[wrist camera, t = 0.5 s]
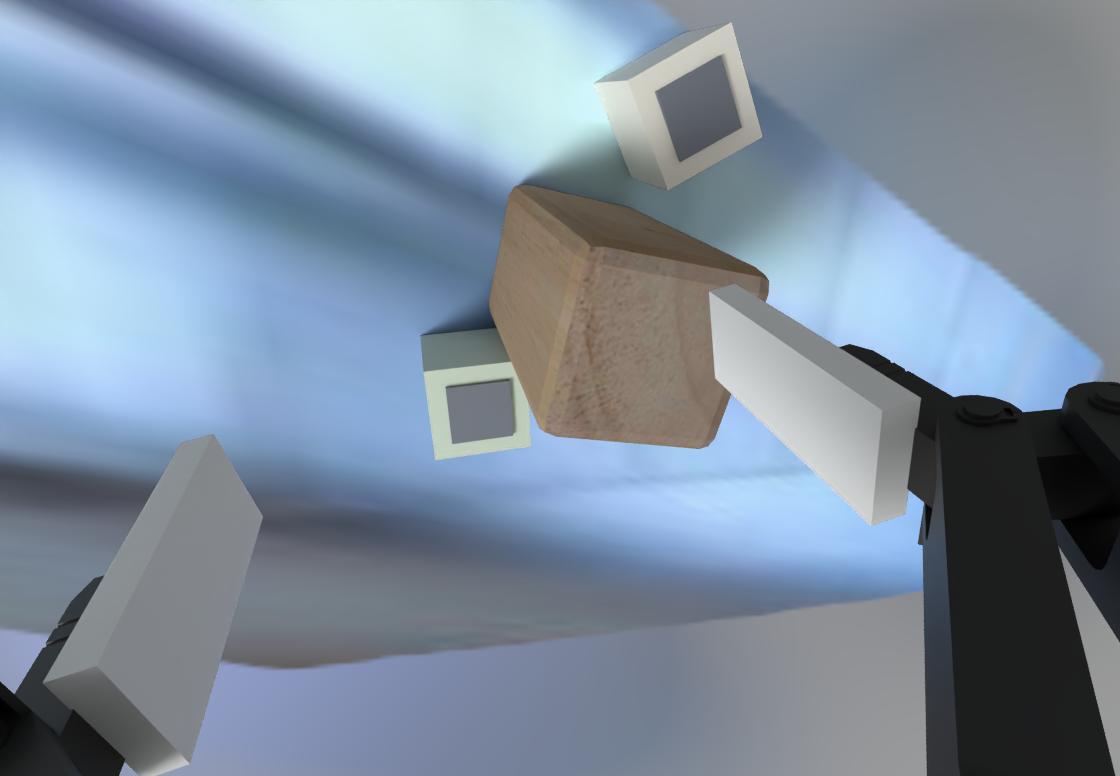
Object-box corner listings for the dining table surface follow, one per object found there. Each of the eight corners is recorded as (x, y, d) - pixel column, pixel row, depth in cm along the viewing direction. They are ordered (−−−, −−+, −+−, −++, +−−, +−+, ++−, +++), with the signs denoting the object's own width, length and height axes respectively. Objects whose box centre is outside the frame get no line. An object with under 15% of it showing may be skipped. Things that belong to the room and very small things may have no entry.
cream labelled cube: (593, 83, 41) (629, 80, 35) (682, 33, 41) (734, 21, 35) (631, 177, 44) (669, 191, 38) (712, 131, 44) (765, 137, 38)
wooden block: (636, 207, 45) (784, 276, 28) (603, 330, 49) (715, 457, 32) (509, 179, 42) (586, 237, 25) (484, 312, 46) (536, 443, 29)
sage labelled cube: (420, 335, 46) (423, 373, 39) (510, 326, 47) (527, 361, 41) (430, 414, 49) (435, 462, 43) (514, 404, 50) (531, 448, 44)
